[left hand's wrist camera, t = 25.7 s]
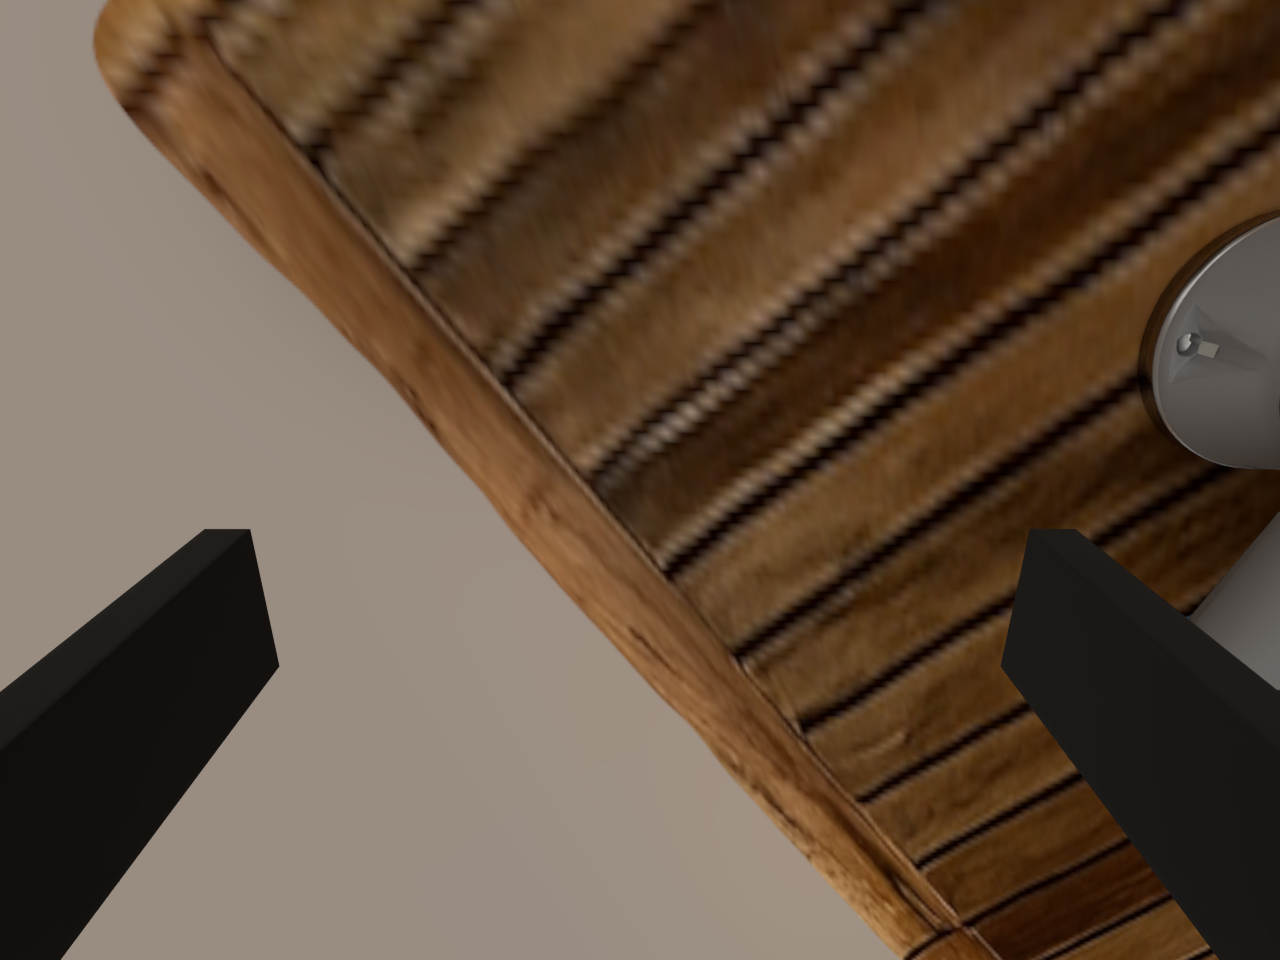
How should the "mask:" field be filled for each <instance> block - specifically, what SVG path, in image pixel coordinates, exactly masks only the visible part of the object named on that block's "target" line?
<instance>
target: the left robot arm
mask: <svg viewBox="0 0 1280 960" xmlns="http://www.w3.org/2000/svg"><path fill="white" fill-rule="evenodd" d="M1139 382H1140V388H1141V394H1142V397H1143V401H1144V404H1145V406H1146V409H1147V411H1148V413H1149V415H1150V417H1151V418H1152V420H1153V421H1154V423H1155V424H1156V426H1157V427H1158V428H1159V429H1160V431H1161V432H1162V433H1163V434H1165V435H1166V436H1167V437H1168V438H1169V439H1170V440H1172V441H1173V442H1174V443H1175V444H1177V445H1179V446H1181V447H1182V448H1184V449H1186V450H1188V451H1190V452H1192V453H1194V454H1196V455H1198V456H1200V457H1202V458H1204V459H1207V460H1209V461H1211V462H1214V463H1217V464H1221V465H1224V466H1229V467H1234V468H1245V469H1274V470H1280V210H1279V211H1274V212H1271V213H1268V214H1264V215H1261V216H1259V217H1256V218H1254V219H1251V220H1249V221H1247V222H1245V223H1243V224H1240V225H1238V226H1236V227H1234V228H1233V229H1231V230H1229V231H1228V232H1226V233H1224V234H1223V235H1221V236H1220V237H1218V238H1217V239H1216V240H1214V241H1213V242H1211V243H1210V244H1209V245H1207V246H1206V247H1205V248H1204V249H1203V250H1201V251H1200V252H1199V253H1198V254H1197V255H1196V256H1195V257H1194V258H1193V259H1191V260H1190V261H1189V262H1188V263H1187V264H1186V265H1185V267H1184V268H1183V269H1182V270H1181V271H1180V272H1179V273H1178V274H1177V276H1176V277H1175V278H1174V280H1173V281H1172V282H1171V283H1170V285H1169V286H1168V288H1167V289H1166V291H1165V292H1164V294H1163V295H1162V297H1161V298H1160V300H1159V302H1158V304H1157V306H1156V308H1155V309H1154V311H1153V314H1152V316H1151V318H1150V320H1149V323H1148V325H1147V328H1146V331H1145V334H1144V338H1143V342H1142V346H1141V352H1140V359H1139ZM278 667H279V662H278V658H277V653H276V648H275V644H274V639H273V634H272V629H271V625H270V620H269V615H268V611H267V606H266V601H265V597H264V592H263V587H262V582H261V578H260V573H259V569H258V564H257V559H256V554H255V550H254V545H253V540H252V536H251V531H250V529H204V530H203V531H202V532H201V533H199V534H198V535H197V536H196V537H194V538H193V539H192V540H190V541H189V542H188V543H187V544H185V545H184V546H183V547H182V548H180V549H179V550H178V551H177V552H175V553H174V554H173V555H172V556H170V557H169V558H168V559H167V560H165V561H164V562H163V563H162V564H160V565H159V566H158V567H157V568H155V569H154V570H153V571H152V572H150V573H149V574H148V575H147V576H145V577H144V578H143V579H142V580H140V581H139V582H138V583H137V584H135V585H134V586H133V587H131V588H130V589H129V590H128V591H126V592H125V593H124V594H123V595H121V596H120V597H119V598H118V599H116V600H115V601H114V602H113V603H111V604H110V605H109V606H108V607H106V608H105V609H104V610H103V611H101V612H100V613H99V614H98V615H96V616H95V617H94V618H92V619H91V620H90V621H89V622H87V623H86V624H85V625H84V626H82V627H81V628H80V629H79V630H78V631H76V632H75V633H74V634H72V635H71V636H70V637H69V638H67V639H66V640H65V641H64V642H62V643H61V644H60V645H59V646H57V647H56V648H55V649H54V650H52V651H51V652H50V653H49V654H47V655H46V656H45V657H44V658H42V659H41V660H40V661H38V662H37V663H36V664H35V665H34V666H32V667H31V668H30V669H28V670H27V671H26V672H25V673H23V674H22V675H21V676H20V677H18V678H17V679H16V680H15V681H13V682H12V683H11V684H10V685H8V686H7V687H6V688H5V689H3V690H2V691H1V692H0V960H61V959H62V957H63V956H64V955H65V953H66V952H67V950H68V949H69V948H70V946H71V945H72V944H73V942H74V941H75V940H76V938H77V937H78V936H79V934H80V933H81V932H82V930H83V929H84V928H85V926H86V925H87V924H88V922H89V921H90V920H91V918H92V917H93V916H94V914H95V913H96V912H97V910H98V909H99V908H100V906H101V905H102V904H103V902H104V901H105V899H106V898H107V897H108V895H109V894H110V893H111V891H112V890H113V889H114V887H115V886H116V885H117V883H118V882H119V881H120V879H121V878H122V877H123V875H124V874H125V873H126V871H127V870H128V869H129V867H130V866H131V865H132V863H133V862H134V861H135V859H136V858H137V856H138V855H139V854H140V853H141V851H142V850H143V849H144V847H145V846H146V845H147V843H148V842H149V840H150V839H151V838H152V836H153V835H154V834H155V832H156V831H157V830H158V828H159V827H160V826H161V824H162V823H163V822H164V820H165V819H166V818H167V816H168V815H169V814H170V812H171V811H172V810H173V808H174V807H175V805H176V804H177V803H178V802H179V800H180V799H181V798H182V796H183V795H184V794H185V792H186V791H187V790H188V788H189V787H190V785H191V784H192V783H193V781H194V780H195V779H196V777H197V776H198V775H199V773H200V772H201V771H202V769H203V768H204V767H205V765H206V764H207V763H208V761H209V760H210V759H211V757H212V756H213V755H214V753H215V752H216V751H217V749H218V748H219V747H220V745H221V744H222V742H223V741H224V740H225V739H226V737H227V736H228V735H229V733H230V732H231V730H232V729H233V728H234V726H235V725H236V724H237V722H238V721H239V720H240V718H241V717H242V716H243V714H244V713H245V712H246V710H247V709H248V708H249V706H250V705H251V704H252V702H253V701H254V700H255V698H256V697H257V696H258V694H259V693H260V692H261V690H262V689H263V687H264V686H265V685H266V683H267V682H268V681H269V679H270V678H271V677H272V675H273V674H274V673H275V671H276V670H277V669H278ZM1001 667H1002V669H1003V670H1004V671H1005V673H1006V674H1007V675H1008V677H1009V678H1010V680H1011V681H1012V682H1013V684H1014V685H1015V686H1016V688H1017V689H1018V690H1019V692H1020V693H1021V694H1022V696H1023V697H1024V698H1025V700H1026V701H1027V702H1028V704H1029V705H1030V706H1031V708H1032V709H1033V710H1034V712H1035V713H1036V714H1037V716H1038V717H1039V718H1040V720H1041V721H1042V722H1043V724H1044V725H1045V726H1046V728H1047V729H1048V730H1049V732H1050V733H1051V735H1052V736H1053V737H1054V739H1055V740H1056V741H1057V743H1058V744H1059V745H1060V747H1061V748H1062V749H1063V751H1064V752H1065V753H1066V755H1067V756H1068V757H1069V759H1070V760H1071V761H1072V763H1073V764H1074V765H1075V767H1076V768H1077V769H1078V771H1079V772H1080V773H1081V775H1082V776H1083V777H1084V779H1085V780H1086V781H1087V783H1088V784H1089V785H1090V787H1091V788H1092V790H1093V791H1094V792H1095V794H1096V795H1097V796H1098V798H1099V799H1100V800H1101V802H1102V803H1103V804H1104V806H1105V807H1106V808H1107V810H1108V811H1109V812H1110V814H1111V815H1112V816H1113V818H1114V819H1115V820H1116V822H1117V823H1118V824H1119V826H1120V827H1121V828H1122V830H1123V831H1124V832H1125V834H1126V835H1127V836H1128V838H1129V839H1130V840H1131V842H1132V843H1133V845H1134V846H1135V847H1136V849H1137V850H1138V851H1139V853H1140V854H1141V855H1142V857H1143V858H1144V859H1145V861H1146V862H1147V863H1148V865H1149V866H1150V867H1151V869H1152V870H1153V871H1154V873H1155V874H1156V875H1157V877H1158V878H1159V879H1160V881H1161V882H1162V883H1163V885H1164V886H1165V887H1166V889H1167V890H1168V891H1169V893H1170V894H1171V895H1172V897H1173V898H1174V900H1175V901H1176V902H1177V904H1178V905H1179V906H1180V908H1181V909H1182V910H1183V912H1184V913H1185V914H1186V916H1187V917H1188V918H1189V920H1190V921H1191V922H1192V924H1193V925H1194V926H1195V928H1196V929H1197V930H1198V932H1199V933H1200V934H1201V936H1202V937H1203V938H1204V940H1205V941H1206V942H1207V944H1208V945H1209V946H1210V948H1211V949H1212V950H1213V952H1214V953H1215V955H1216V956H1217V957H1218V959H1219V960H1280V511H1279V512H1278V513H1277V514H1276V516H1275V517H1274V518H1273V519H1272V520H1271V521H1270V523H1269V524H1268V525H1267V526H1266V527H1265V529H1264V530H1263V531H1262V532H1261V533H1260V535H1259V536H1258V537H1257V538H1256V539H1255V540H1254V542H1253V543H1252V544H1251V545H1250V546H1249V548H1248V549H1247V550H1246V551H1245V552H1244V553H1243V555H1242V556H1241V557H1240V558H1239V559H1238V561H1237V562H1236V563H1235V564H1234V565H1233V567H1232V568H1231V569H1230V570H1229V571H1228V572H1227V574H1226V575H1225V576H1224V577H1223V578H1222V580H1221V581H1220V582H1219V583H1218V584H1217V585H1216V587H1215V588H1214V589H1213V590H1212V591H1211V593H1210V594H1209V595H1208V596H1207V597H1206V599H1205V600H1204V601H1203V602H1202V603H1201V604H1200V606H1199V607H1198V608H1197V609H1196V610H1195V612H1194V613H1193V614H1192V615H1189V616H1186V617H1185V616H1184V615H1182V614H1181V613H1180V612H1179V611H1177V610H1176V609H1175V608H1174V607H1172V606H1171V605H1170V604H1169V603H1167V602H1166V601H1165V600H1164V599H1162V598H1161V597H1160V596H1159V595H1157V594H1156V593H1155V592H1154V591H1152V590H1151V589H1150V588H1149V587H1147V586H1146V585H1145V584H1144V583H1142V582H1141V581H1140V580H1139V579H1137V578H1136V577H1135V576H1134V575H1132V574H1131V573H1130V572H1128V571H1127V570H1126V569H1125V568H1123V567H1122V566H1121V565H1120V564H1118V563H1117V562H1116V561H1115V560H1113V559H1112V558H1111V557H1110V556H1108V555H1107V554H1106V553H1105V552H1103V551H1102V550H1101V549H1100V548H1098V547H1097V546H1096V545H1095V544H1093V543H1092V542H1091V541H1090V540H1088V539H1087V538H1086V537H1085V536H1083V535H1082V534H1081V533H1080V532H1078V531H1077V530H1076V529H1030V531H1029V536H1028V540H1027V545H1026V550H1025V554H1024V559H1023V564H1022V568H1021V573H1020V578H1019V582H1018V587H1017V592H1016V597H1015V601H1014V606H1013V611H1012V615H1011V620H1010V625H1009V629H1008V634H1007V639H1006V643H1005V648H1004V653H1003V658H1002V662H1001Z"/></svg>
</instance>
